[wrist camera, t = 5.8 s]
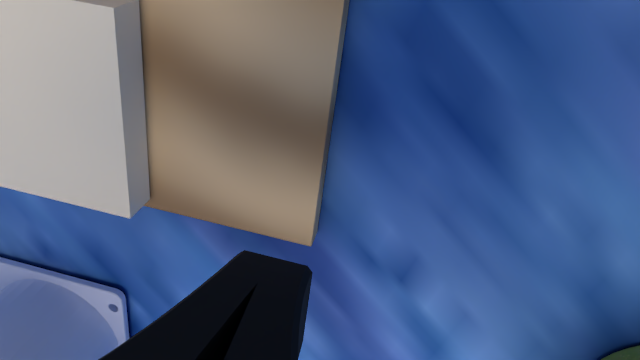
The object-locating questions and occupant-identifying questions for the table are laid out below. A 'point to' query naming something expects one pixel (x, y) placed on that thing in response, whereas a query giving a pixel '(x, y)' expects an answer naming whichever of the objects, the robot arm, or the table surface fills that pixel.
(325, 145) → the cork board
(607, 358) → the plant pot
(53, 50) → the tile
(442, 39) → the table surface
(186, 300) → the robot arm
